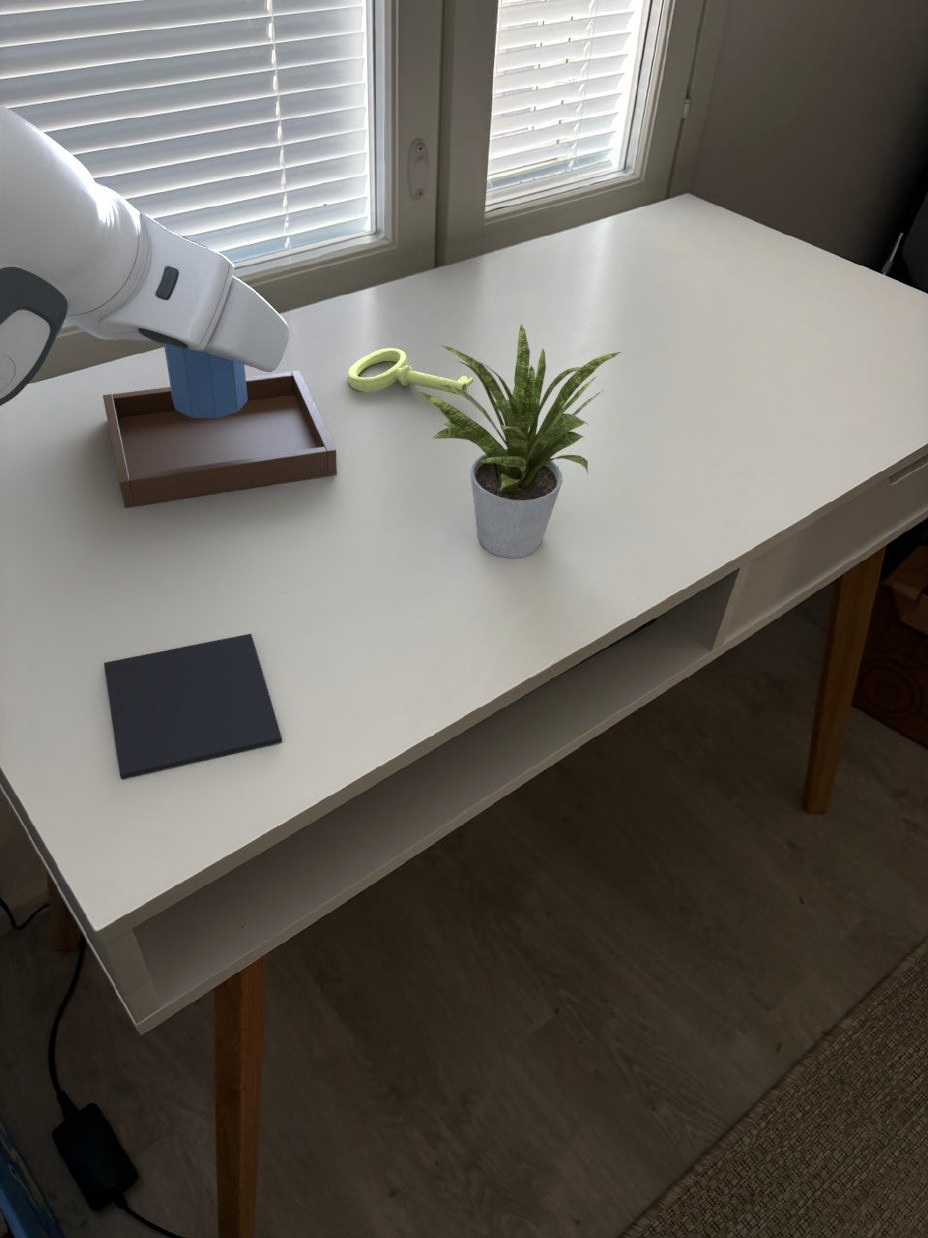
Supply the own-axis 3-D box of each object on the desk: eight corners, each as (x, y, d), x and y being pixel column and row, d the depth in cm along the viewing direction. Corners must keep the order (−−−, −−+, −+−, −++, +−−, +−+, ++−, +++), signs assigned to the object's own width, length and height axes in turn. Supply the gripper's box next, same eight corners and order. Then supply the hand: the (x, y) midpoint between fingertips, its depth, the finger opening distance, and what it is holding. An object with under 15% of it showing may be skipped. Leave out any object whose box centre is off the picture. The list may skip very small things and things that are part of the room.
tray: (124, 507, 82) (119, 482, 80) (107, 419, 91) (102, 394, 89) (337, 474, 87) (336, 449, 85) (300, 393, 96) (299, 370, 94)
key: (468, 407, 95) (469, 387, 94) (341, 389, 97) (341, 369, 95) (480, 370, 101) (482, 351, 99) (360, 354, 102) (360, 334, 100)
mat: (121, 779, 62) (119, 774, 62) (105, 667, 69) (103, 662, 68) (282, 742, 65) (281, 737, 64) (251, 638, 72) (251, 633, 71)
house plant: (532, 461, 90) (553, 285, 78) (639, 545, 82) (679, 363, 71) (397, 512, 83) (400, 329, 72) (499, 609, 75) (519, 420, 64)
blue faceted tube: (179, 423, 82) (164, 320, 76) (168, 385, 86) (153, 284, 80) (252, 414, 84) (243, 312, 78) (238, 377, 88) (229, 278, 82)
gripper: (-26, 275, 72) (93, 345, 85) (212, 350, 66) (300, 413, 79) (5, 192, 72) (119, 275, 85) (246, 260, 66) (328, 338, 79)
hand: (208, 342), depth 82 cm, fingers closed on blue faceted tube, 6 cm apart
